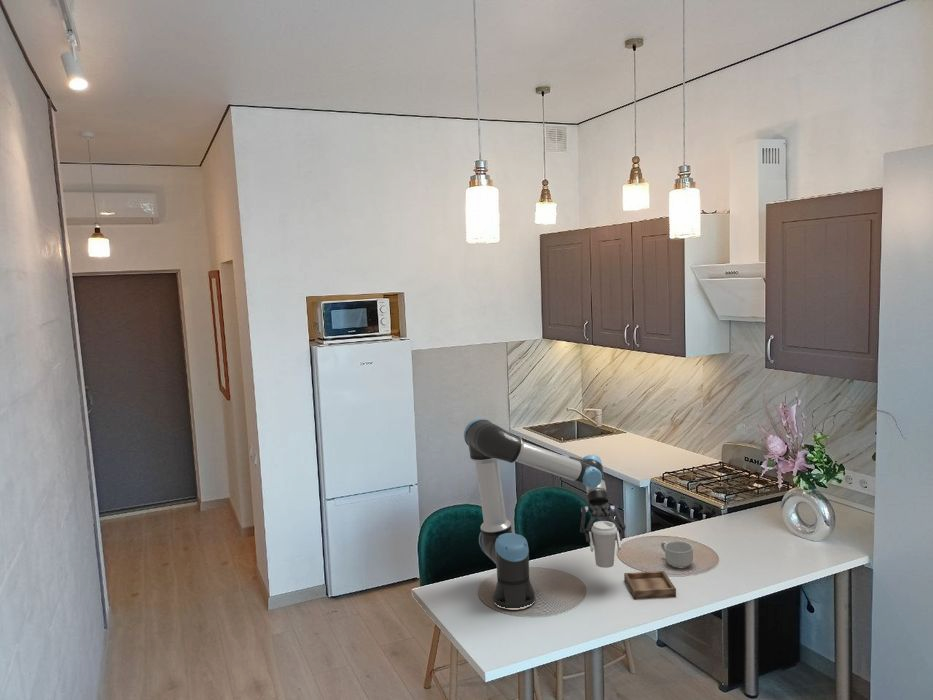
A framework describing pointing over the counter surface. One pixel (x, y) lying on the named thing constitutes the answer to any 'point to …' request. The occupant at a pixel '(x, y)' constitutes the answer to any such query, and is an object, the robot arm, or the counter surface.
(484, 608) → the counter surface
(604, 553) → the coffee cup
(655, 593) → the walnut tray
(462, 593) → the counter surface
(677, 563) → the teacup
